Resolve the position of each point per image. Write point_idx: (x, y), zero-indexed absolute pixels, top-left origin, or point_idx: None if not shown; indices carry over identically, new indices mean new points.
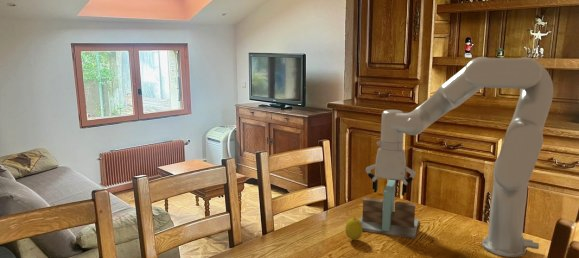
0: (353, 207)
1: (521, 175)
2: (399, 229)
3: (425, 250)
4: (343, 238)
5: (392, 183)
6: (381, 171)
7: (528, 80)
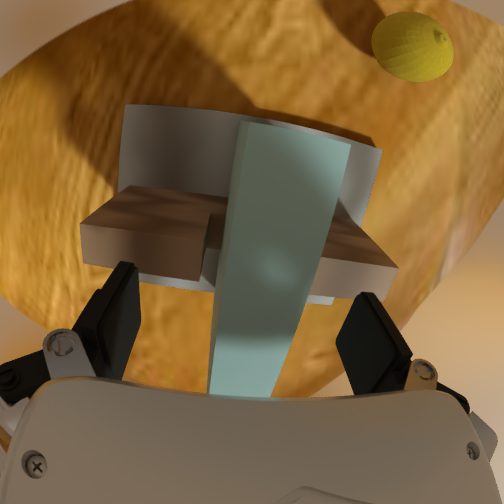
0: None
1: None
2: (189, 151)
3: (107, 21)
4: None
5: None
6: (435, 470)
7: None
